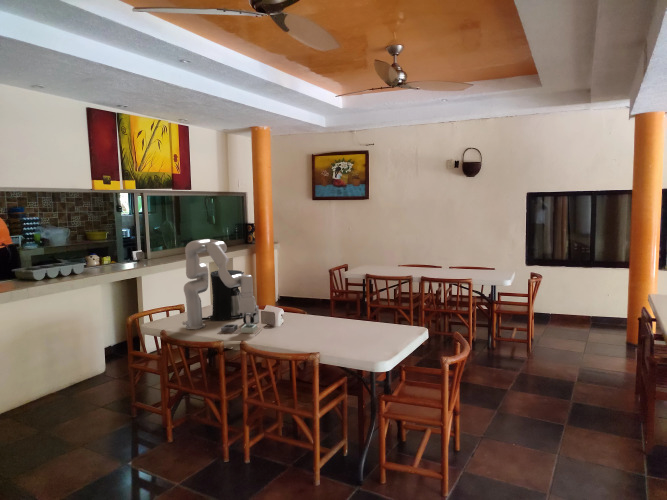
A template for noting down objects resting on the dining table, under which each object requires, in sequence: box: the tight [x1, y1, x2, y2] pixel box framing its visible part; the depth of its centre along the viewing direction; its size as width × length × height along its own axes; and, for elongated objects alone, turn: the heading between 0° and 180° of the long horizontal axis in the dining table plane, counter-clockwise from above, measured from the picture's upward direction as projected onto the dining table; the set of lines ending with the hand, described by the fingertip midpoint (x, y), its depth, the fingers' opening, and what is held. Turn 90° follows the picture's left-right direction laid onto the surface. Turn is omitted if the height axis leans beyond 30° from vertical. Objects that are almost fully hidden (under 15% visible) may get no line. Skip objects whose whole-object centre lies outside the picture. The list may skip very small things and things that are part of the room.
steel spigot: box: [245, 313, 252, 327], centre depth 296 cm, size 4×4×10 cm
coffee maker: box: [202, 269, 245, 322], centre depth 336 cm, size 23×32×34 cm
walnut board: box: [216, 323, 262, 335], centre depth 298 cm, size 25×14×4 cm, turn 83°
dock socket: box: [240, 323, 258, 333], centre depth 297 cm, size 8×8×3 cm
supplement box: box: [252, 305, 260, 324], centre depth 317 cm, size 7×7×13 cm
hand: (248, 322), depth 296 cm, fingers closed on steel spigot, 3 cm apart
